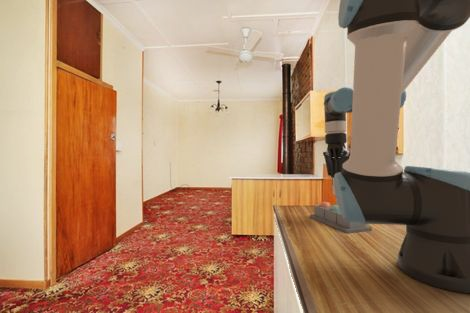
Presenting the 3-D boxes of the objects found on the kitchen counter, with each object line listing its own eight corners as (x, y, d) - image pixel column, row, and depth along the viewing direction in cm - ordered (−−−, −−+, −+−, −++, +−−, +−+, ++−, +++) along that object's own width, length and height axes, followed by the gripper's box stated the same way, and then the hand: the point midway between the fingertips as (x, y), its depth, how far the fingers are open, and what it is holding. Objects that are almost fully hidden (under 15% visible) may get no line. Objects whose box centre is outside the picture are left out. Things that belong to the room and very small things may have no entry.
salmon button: (332, 213, 94) (332, 203, 94) (324, 214, 93) (324, 204, 93) (326, 211, 97) (326, 201, 97) (318, 212, 96) (318, 202, 96)
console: (371, 230, 79) (371, 215, 79) (347, 233, 76) (347, 218, 76) (329, 214, 100) (329, 203, 100) (309, 217, 98) (309, 205, 98)
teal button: (345, 218, 87) (344, 206, 87) (336, 219, 86) (336, 207, 86) (338, 215, 91) (337, 204, 91) (329, 216, 90) (329, 205, 90)
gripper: (356, 131, 83) (358, 196, 82) (332, 135, 95) (334, 191, 95) (339, 131, 81) (341, 198, 80) (316, 135, 93) (318, 192, 93)
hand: (337, 194), depth 88 cm, fingers closed
